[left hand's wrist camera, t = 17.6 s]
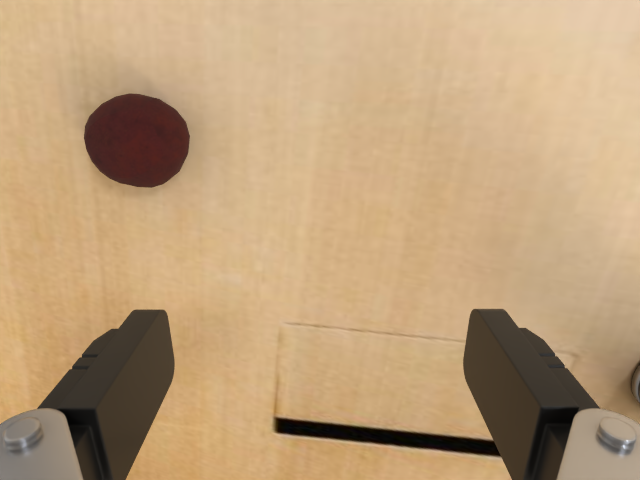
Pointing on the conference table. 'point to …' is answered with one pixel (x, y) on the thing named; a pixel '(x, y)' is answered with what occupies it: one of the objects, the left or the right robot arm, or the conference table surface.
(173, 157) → the potato
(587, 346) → the conference table surface
